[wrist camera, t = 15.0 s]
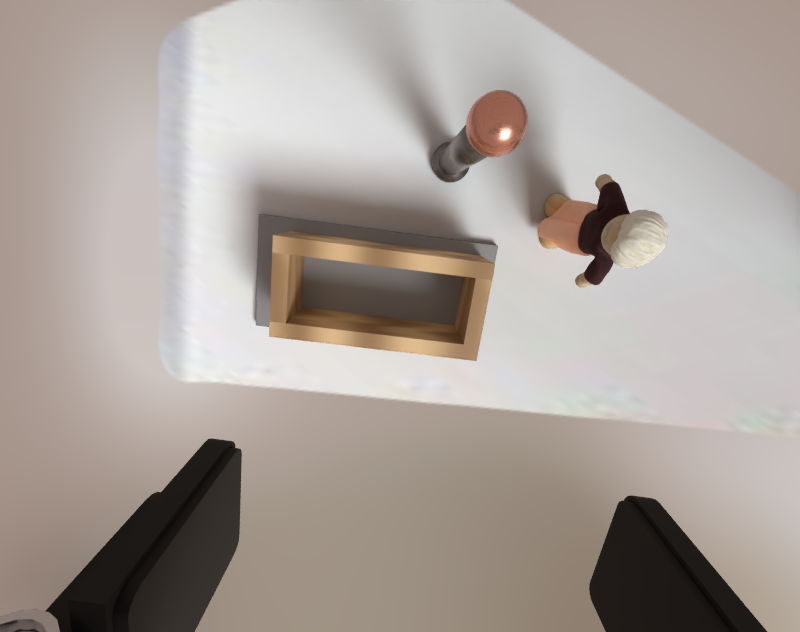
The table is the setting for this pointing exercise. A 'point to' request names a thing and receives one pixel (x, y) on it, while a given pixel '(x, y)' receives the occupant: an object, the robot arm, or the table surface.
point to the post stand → (483, 135)
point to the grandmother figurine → (602, 231)
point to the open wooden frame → (369, 329)
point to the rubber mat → (366, 275)
